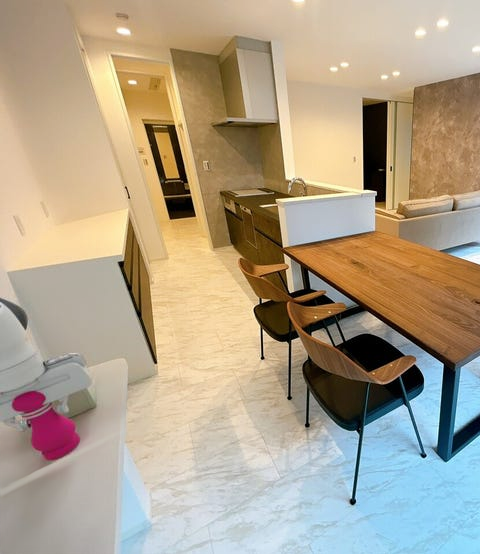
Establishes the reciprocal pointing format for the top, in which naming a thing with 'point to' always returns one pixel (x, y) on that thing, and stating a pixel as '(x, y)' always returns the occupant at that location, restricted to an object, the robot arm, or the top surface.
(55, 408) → the holder
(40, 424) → the pepper mill
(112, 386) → the top surface
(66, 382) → the robot arm
